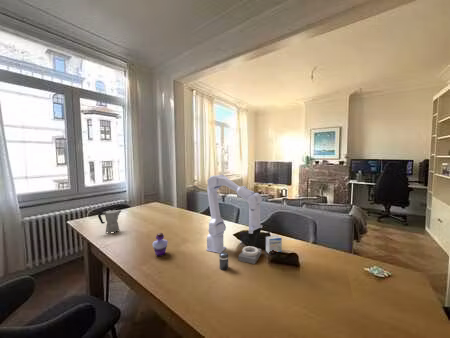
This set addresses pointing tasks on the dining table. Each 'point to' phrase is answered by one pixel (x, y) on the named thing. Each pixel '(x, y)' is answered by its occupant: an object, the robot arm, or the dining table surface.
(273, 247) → the medicine box
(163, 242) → the potion bottle
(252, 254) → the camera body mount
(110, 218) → the coffeepot
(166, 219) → the dining table surface
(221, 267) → the lens
